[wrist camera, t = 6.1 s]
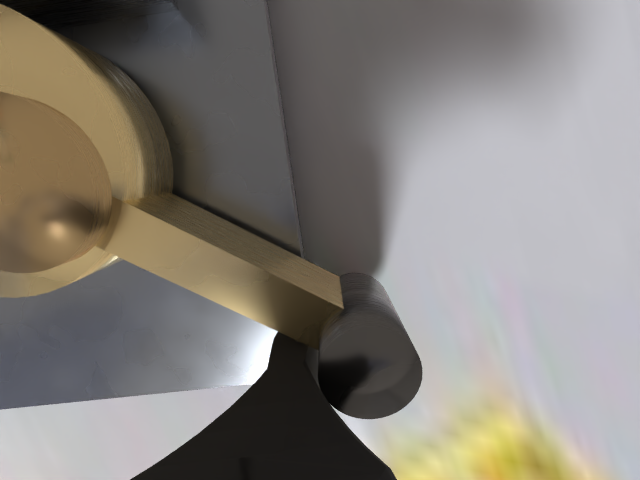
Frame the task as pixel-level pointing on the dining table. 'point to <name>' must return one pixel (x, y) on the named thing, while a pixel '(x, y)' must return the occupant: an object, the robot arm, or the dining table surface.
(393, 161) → the dining table surface
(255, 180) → the stand base
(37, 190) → the tan piece
